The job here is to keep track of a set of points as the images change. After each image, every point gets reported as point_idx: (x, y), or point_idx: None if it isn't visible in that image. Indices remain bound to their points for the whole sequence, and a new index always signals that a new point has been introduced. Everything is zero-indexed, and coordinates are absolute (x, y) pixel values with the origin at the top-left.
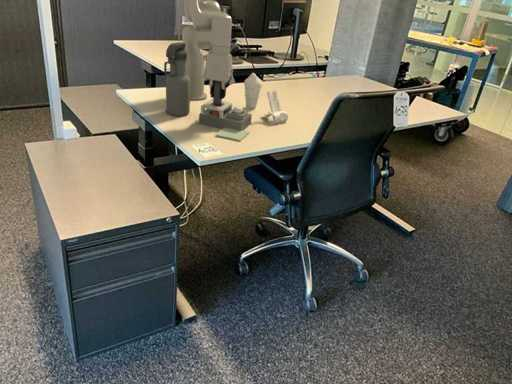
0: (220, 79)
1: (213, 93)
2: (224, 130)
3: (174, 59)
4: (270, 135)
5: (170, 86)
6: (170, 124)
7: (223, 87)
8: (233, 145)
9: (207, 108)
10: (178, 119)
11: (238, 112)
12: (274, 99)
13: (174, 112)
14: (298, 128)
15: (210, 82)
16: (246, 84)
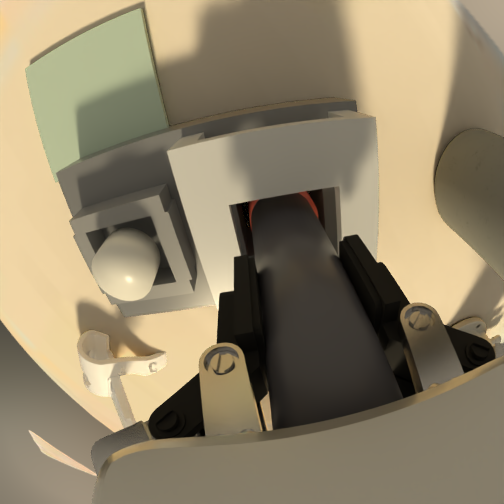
0: (247, 473)
1: (349, 278)
2: (138, 90)
3: None
4: (14, 228)
5: None
6: (425, 15)
7: (223, 368)
8: (32, 15)
9: (312, 120)
10: (438, 97)
11: (105, 241)
12: None
13: (477, 131)
14: (37, 338)
15: (441, 350)
16: None
